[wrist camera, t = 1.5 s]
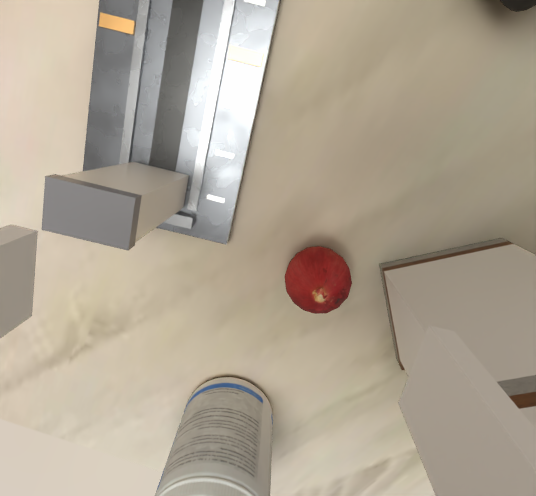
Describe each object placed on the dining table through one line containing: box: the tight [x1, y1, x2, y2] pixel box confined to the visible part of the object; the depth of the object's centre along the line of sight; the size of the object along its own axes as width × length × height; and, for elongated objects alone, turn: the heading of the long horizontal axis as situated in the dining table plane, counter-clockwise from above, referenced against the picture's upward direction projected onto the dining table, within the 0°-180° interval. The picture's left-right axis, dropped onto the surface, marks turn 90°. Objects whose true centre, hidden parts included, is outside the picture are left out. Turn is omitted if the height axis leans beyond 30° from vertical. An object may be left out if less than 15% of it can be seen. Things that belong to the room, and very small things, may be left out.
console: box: [83, 0, 281, 245], centre depth 33 cm, size 24×14×3 cm, turn 167°
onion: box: [285, 246, 352, 313], centre depth 35 cm, size 6×6×8 cm
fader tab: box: [42, 162, 189, 250], centre depth 29 cm, size 3×5×13 cm, turn 77°
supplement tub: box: [155, 377, 273, 496], centre depth 37 cm, size 10×10×15 cm
